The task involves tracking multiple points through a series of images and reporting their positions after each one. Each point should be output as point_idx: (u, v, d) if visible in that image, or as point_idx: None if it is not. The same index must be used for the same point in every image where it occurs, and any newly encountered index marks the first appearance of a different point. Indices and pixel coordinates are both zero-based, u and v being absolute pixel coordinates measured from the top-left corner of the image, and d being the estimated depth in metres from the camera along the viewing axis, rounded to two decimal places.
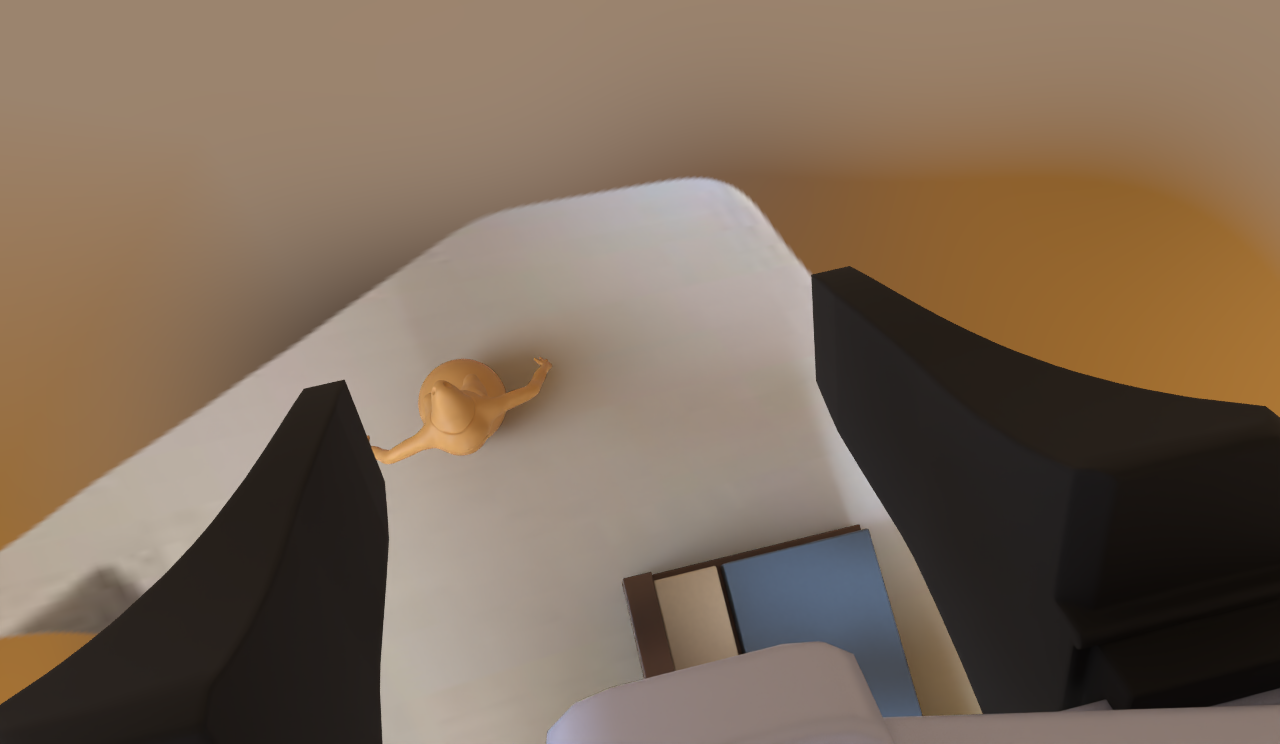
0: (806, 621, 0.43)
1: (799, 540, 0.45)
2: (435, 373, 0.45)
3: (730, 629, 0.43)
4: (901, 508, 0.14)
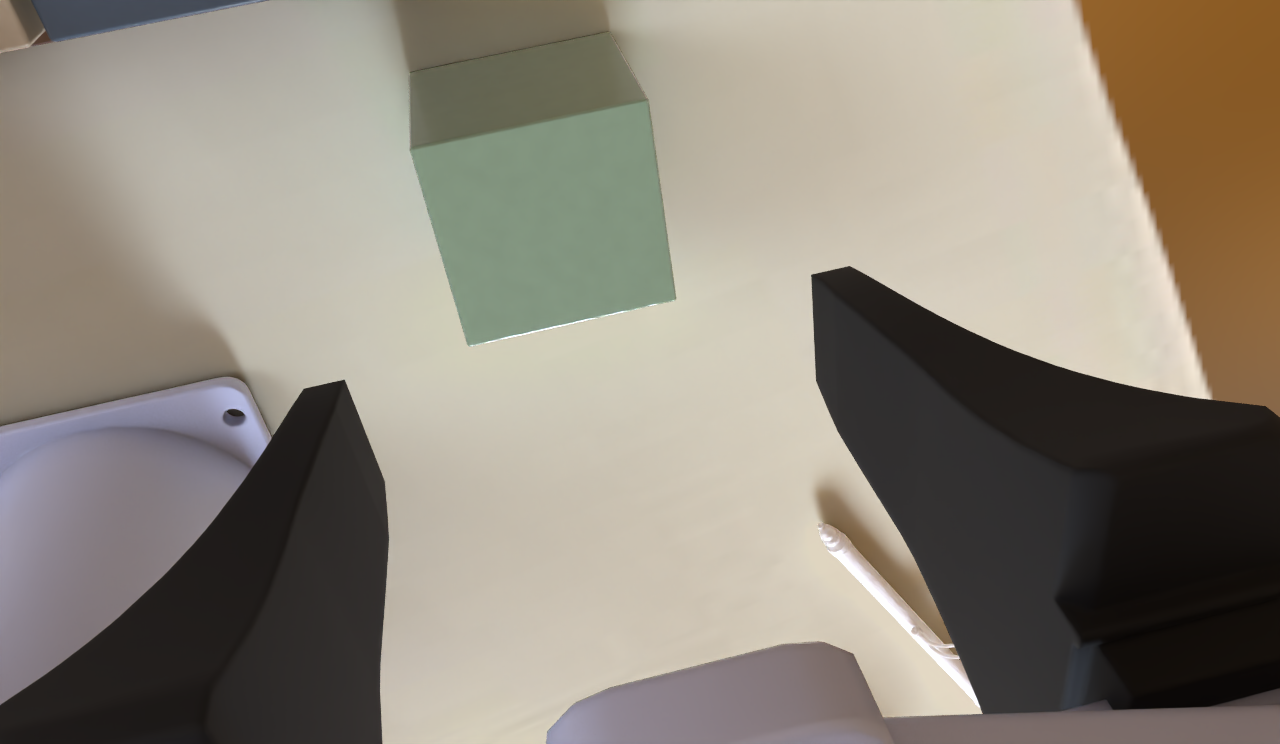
0: None
1: None
2: None
3: None
4: (901, 508, 0.14)
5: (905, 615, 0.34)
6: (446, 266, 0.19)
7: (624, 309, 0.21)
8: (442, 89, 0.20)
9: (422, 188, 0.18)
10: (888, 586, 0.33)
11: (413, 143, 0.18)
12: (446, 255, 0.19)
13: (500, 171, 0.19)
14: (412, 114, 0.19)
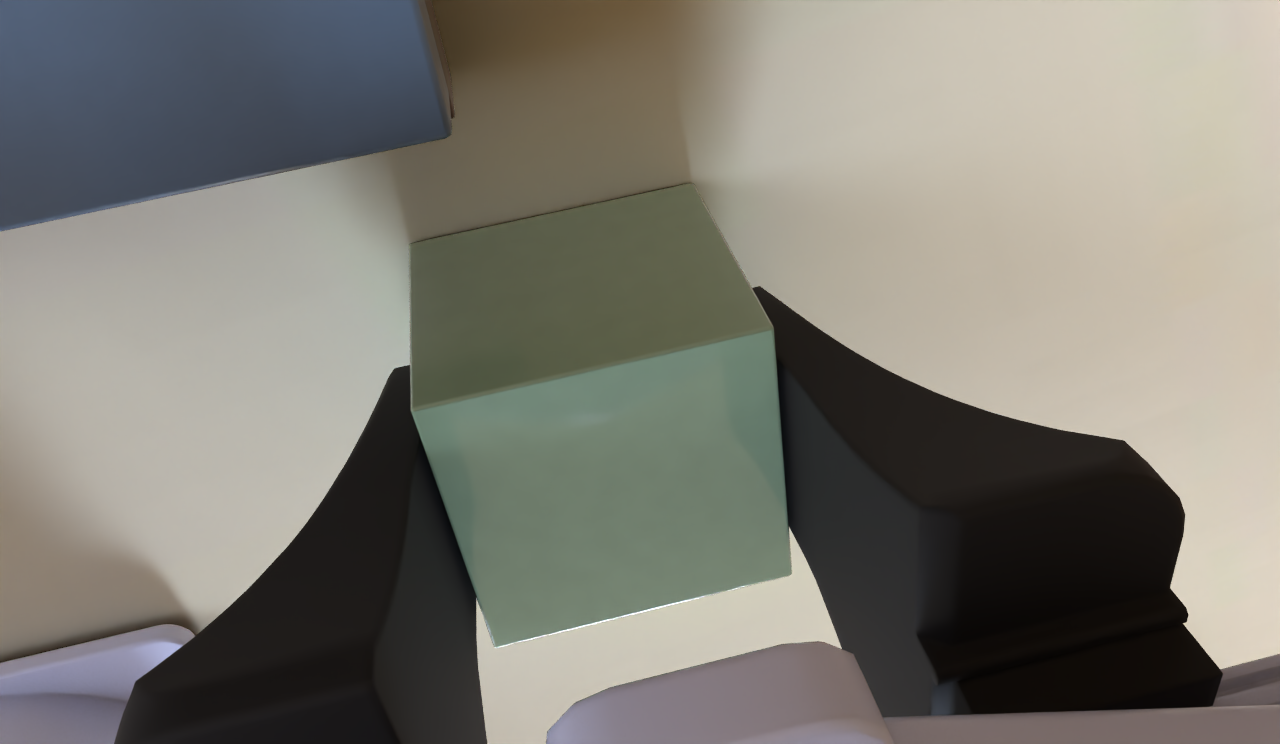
0: None
1: None
2: None
3: None
4: (803, 532, 0.14)
5: None
6: (464, 555, 0.13)
7: (719, 591, 0.14)
8: (458, 282, 0.14)
9: (429, 459, 0.12)
10: None
11: (416, 398, 0.12)
12: (464, 541, 0.13)
13: (547, 432, 0.12)
14: (413, 333, 0.13)
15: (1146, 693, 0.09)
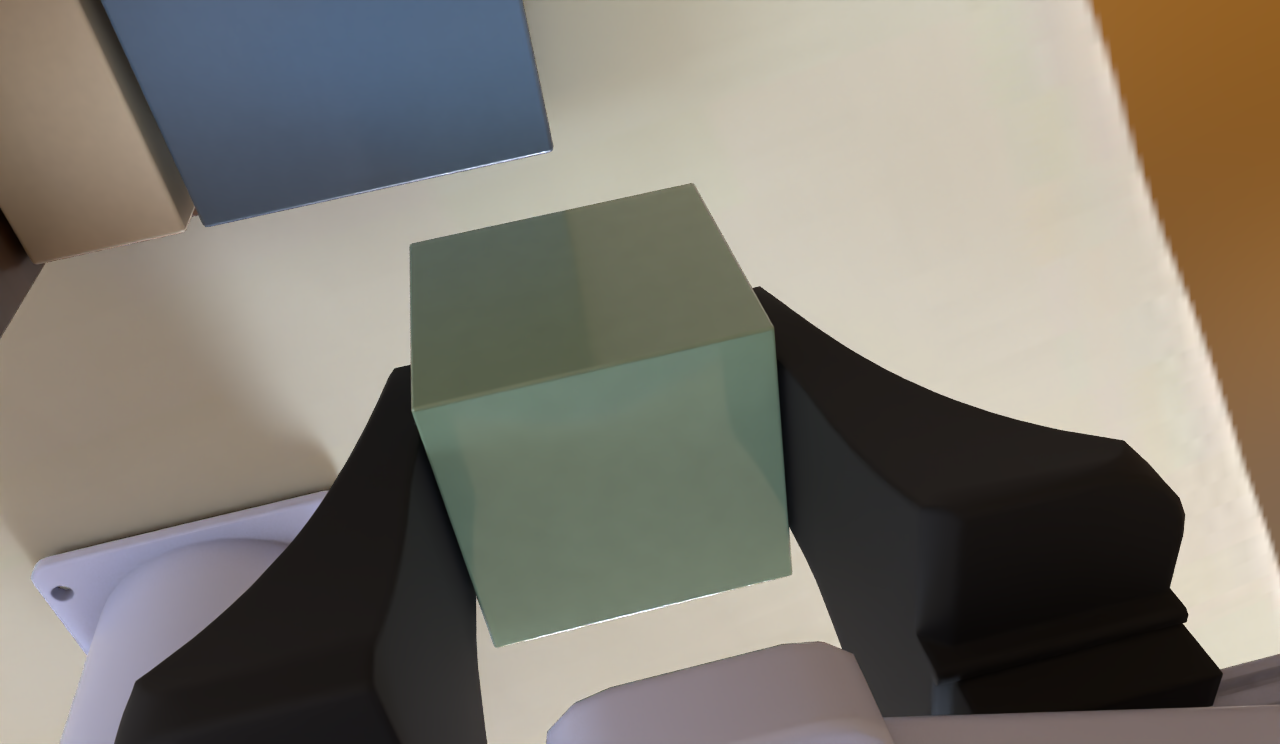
0: None
1: None
2: None
3: None
4: (803, 532, 0.14)
5: None
6: (465, 555, 0.13)
7: (720, 590, 0.14)
8: (458, 282, 0.14)
9: (430, 460, 0.12)
10: None
11: (416, 399, 0.12)
12: (465, 542, 0.13)
13: (547, 433, 0.12)
14: (414, 333, 0.13)
15: (1146, 693, 0.09)
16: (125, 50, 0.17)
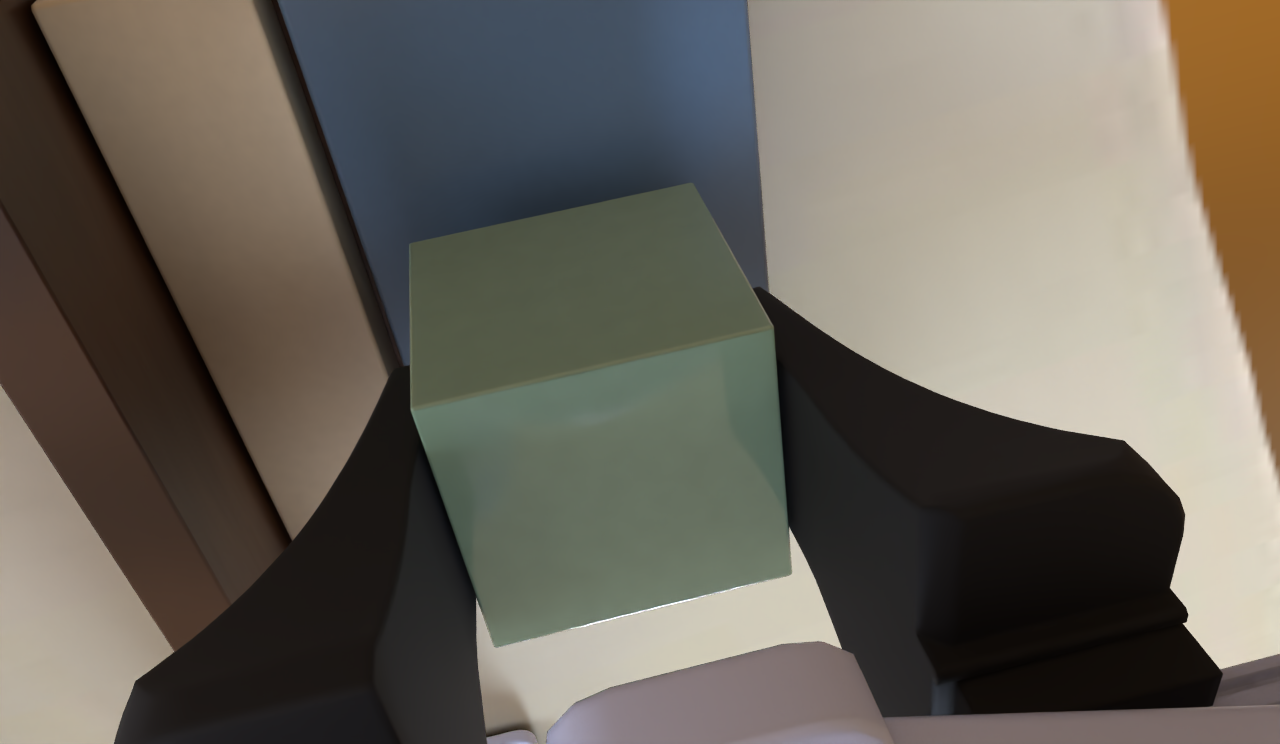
0: (522, 137, 0.16)
1: None
2: None
3: (303, 152, 0.15)
4: (803, 532, 0.14)
5: None
6: (464, 554, 0.13)
7: (719, 590, 0.14)
8: (457, 282, 0.14)
9: (429, 459, 0.12)
10: None
11: (416, 398, 0.12)
12: (465, 541, 0.13)
13: (547, 432, 0.12)
14: (413, 333, 0.13)
15: (1146, 693, 0.09)
16: None
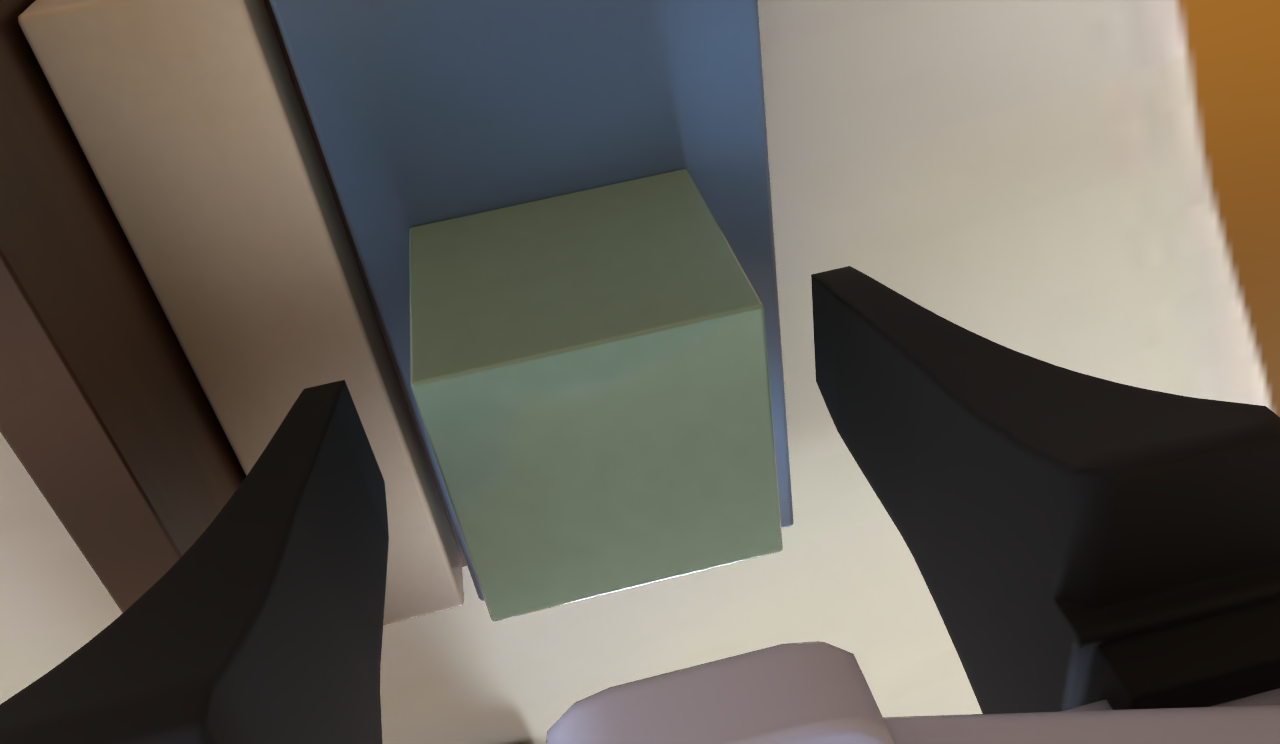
0: (525, 151, 0.15)
1: None
2: None
3: (300, 167, 0.15)
4: (901, 508, 0.14)
5: None
6: (463, 529, 0.14)
7: (712, 565, 0.15)
8: (456, 264, 0.14)
9: (429, 434, 0.13)
10: None
11: (415, 374, 0.12)
12: (464, 516, 0.13)
13: (543, 407, 0.13)
14: (413, 313, 0.13)
15: None
16: (440, 481, 0.18)
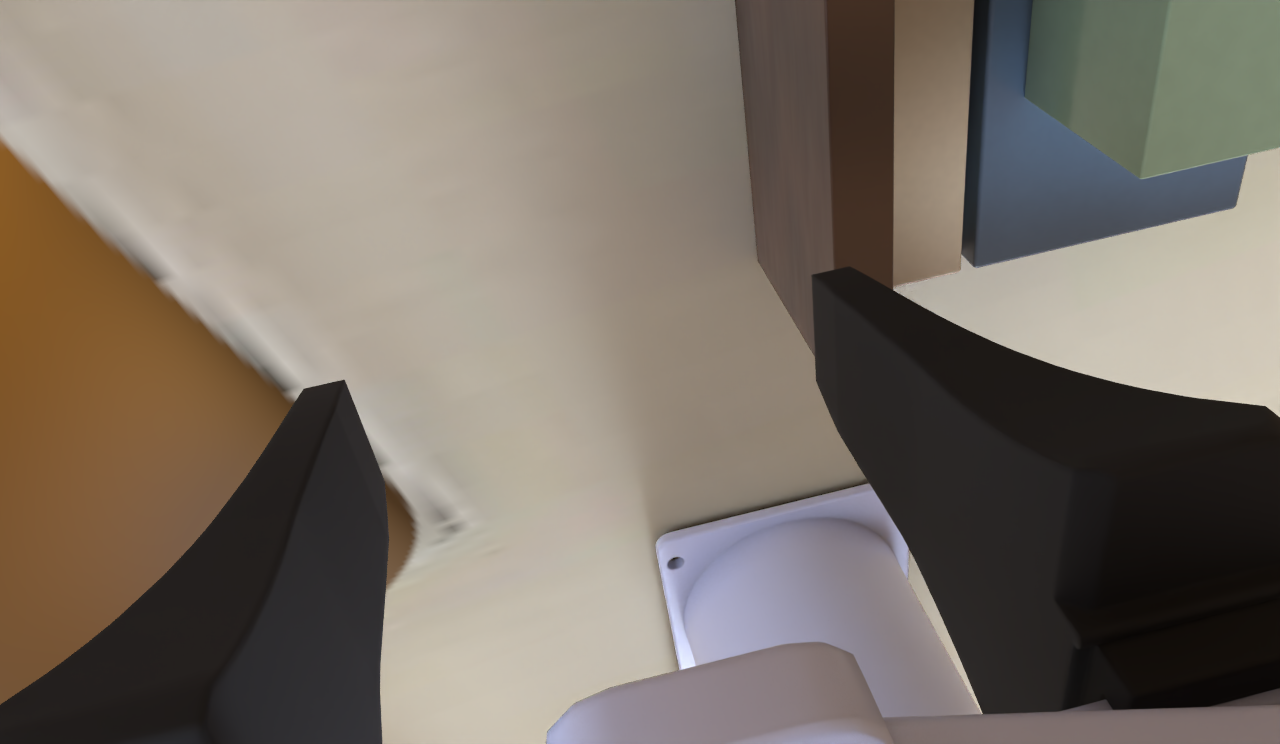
0: None
1: None
2: None
3: None
4: (901, 508, 0.14)
5: None
6: (1160, 75, 0.17)
7: None
8: None
9: None
10: None
11: None
12: (1166, 60, 0.17)
13: None
14: None
15: None
16: (984, 136, 0.22)
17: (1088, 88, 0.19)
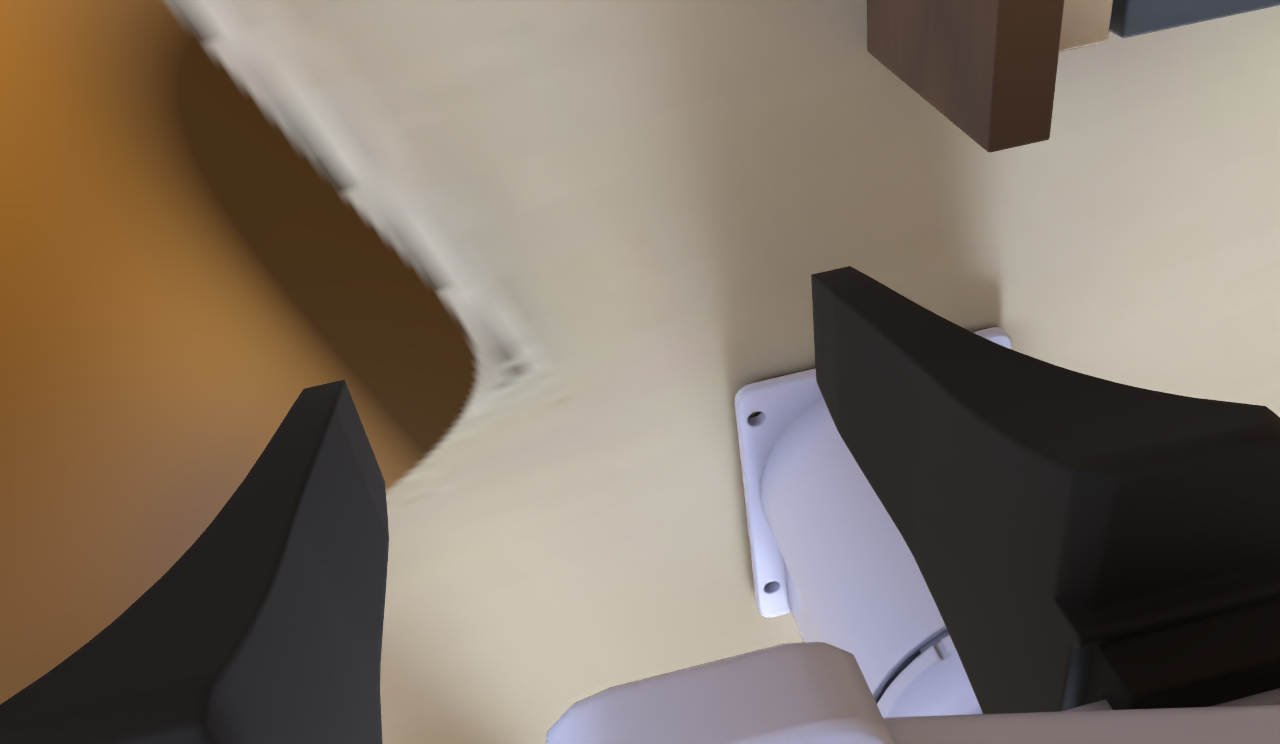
0: None
1: None
2: None
3: None
4: (901, 508, 0.14)
5: None
6: None
7: None
8: None
9: None
10: None
11: None
12: None
13: None
14: None
15: None
16: None
17: None
